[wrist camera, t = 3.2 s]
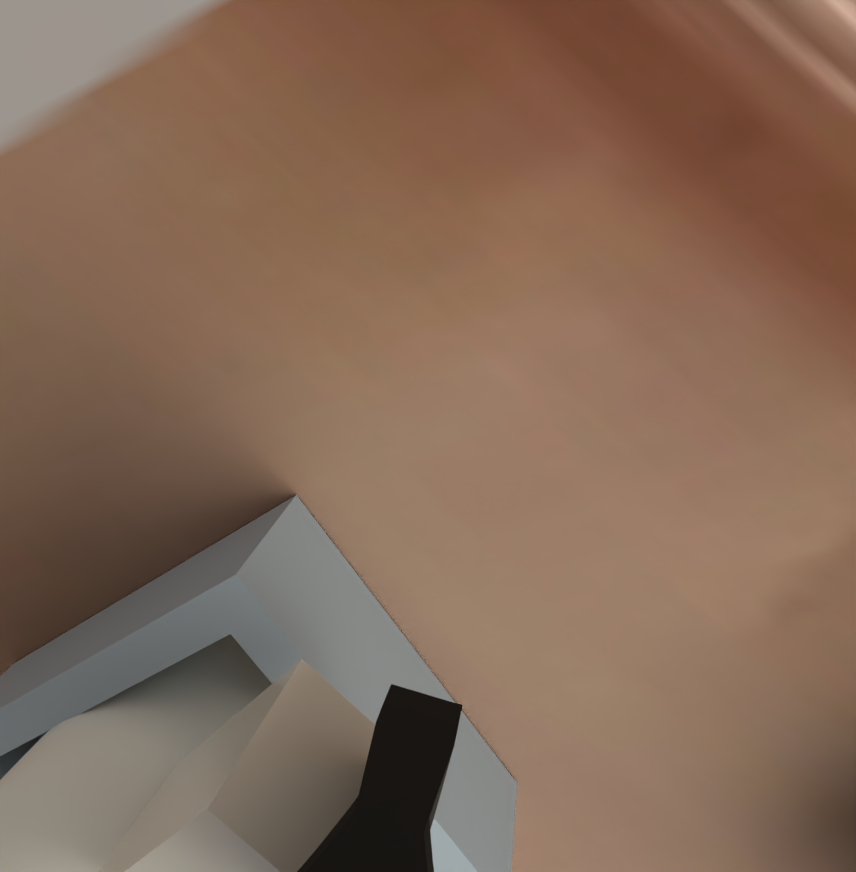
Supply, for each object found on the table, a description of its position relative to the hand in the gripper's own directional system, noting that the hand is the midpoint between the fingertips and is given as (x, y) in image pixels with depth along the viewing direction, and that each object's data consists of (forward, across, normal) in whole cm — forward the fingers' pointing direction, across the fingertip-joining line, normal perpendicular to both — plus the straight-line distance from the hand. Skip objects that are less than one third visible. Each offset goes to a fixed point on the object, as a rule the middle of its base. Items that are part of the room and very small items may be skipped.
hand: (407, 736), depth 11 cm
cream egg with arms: (+5, +5, +7) cm, 10 cm away
